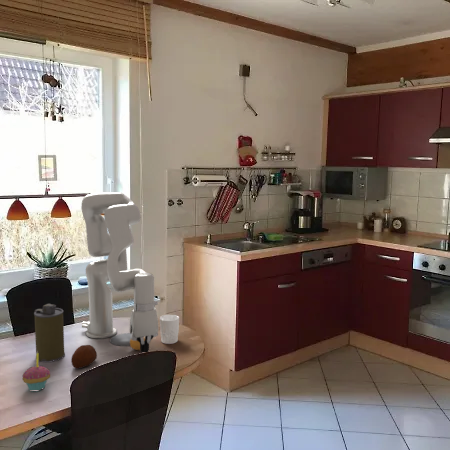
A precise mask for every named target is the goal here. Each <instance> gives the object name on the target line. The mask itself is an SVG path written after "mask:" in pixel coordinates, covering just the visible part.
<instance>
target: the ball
mask: <svg viewBox="0 0 450 450" xmlns="http://www.w3.org/2000/svg"><path fill="white" fill-rule="evenodd" d="M144 341H145V337H144ZM129 347H131V348H132V349H133V350H134V351H140V342H138V341H133V340H130V346H129Z"/></svg>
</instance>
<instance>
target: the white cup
mask: <svg viewBox="0 0 450 450" xmlns="http://www.w3.org/2000/svg"><path fill="white" fill-rule="evenodd" d="M159 328H160V329H159V331H160V340H161V343H163V344H166V345H170V344H172V345H173V344H175V343H177V342H178V340H179V339H178V337H179V331H180V330H179V329H180V316H178V315H176V314H162V315H160V316H159Z"/></svg>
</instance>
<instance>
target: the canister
mask: <svg viewBox="0 0 450 450" xmlns="http://www.w3.org/2000/svg"><path fill="white" fill-rule="evenodd" d="M64 313H65V312H64V310H63V308H61V307H60V308H59V307H57V304H51V303H46V304H44V305H42V308H37V309H35V310H34V312H33V315H34V335H35V338H34V339H35V355H36V354H37V351H38V353H39V360H40V361H39V362H42V361H52V362H54V361H53V360H56V361H59V360H62V359H63V358H64V357H65V356H66V352H65V333H64ZM62 357H63V358H62ZM58 359H59V360H58Z"/></svg>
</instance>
